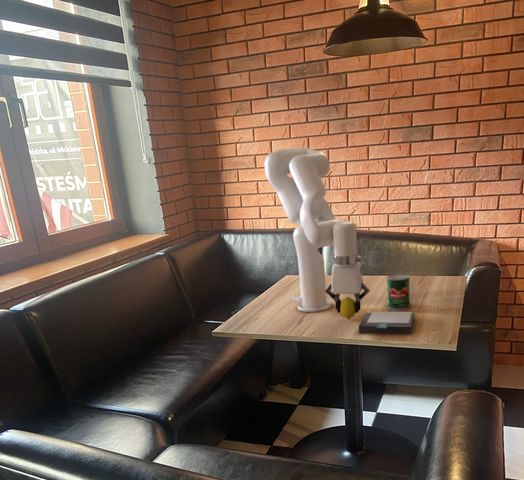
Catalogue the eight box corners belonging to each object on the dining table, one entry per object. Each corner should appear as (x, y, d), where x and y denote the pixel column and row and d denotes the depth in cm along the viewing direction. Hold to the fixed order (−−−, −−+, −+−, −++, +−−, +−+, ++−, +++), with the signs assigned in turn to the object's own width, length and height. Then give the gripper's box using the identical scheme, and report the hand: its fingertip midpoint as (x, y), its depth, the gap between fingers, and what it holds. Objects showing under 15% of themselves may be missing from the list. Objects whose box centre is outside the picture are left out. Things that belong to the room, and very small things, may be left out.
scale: (357, 335, 169) (357, 326, 168) (366, 319, 183) (366, 310, 182) (409, 336, 163) (409, 327, 162) (414, 320, 177) (414, 311, 176)
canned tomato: (402, 302, 197) (402, 273, 193) (414, 307, 190) (413, 277, 186) (383, 306, 196) (382, 276, 192) (393, 311, 188) (393, 280, 185)
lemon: (356, 321, 182) (355, 298, 179) (340, 322, 183) (338, 299, 181) (356, 316, 187) (356, 294, 184) (341, 317, 188) (339, 295, 186)
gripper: (373, 256, 178) (375, 308, 185) (323, 258, 184) (326, 308, 191) (370, 261, 172) (371, 315, 178) (318, 263, 178) (321, 314, 184)
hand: (348, 311), depth 184 cm, fingers closed on lemon, 5 cm apart
